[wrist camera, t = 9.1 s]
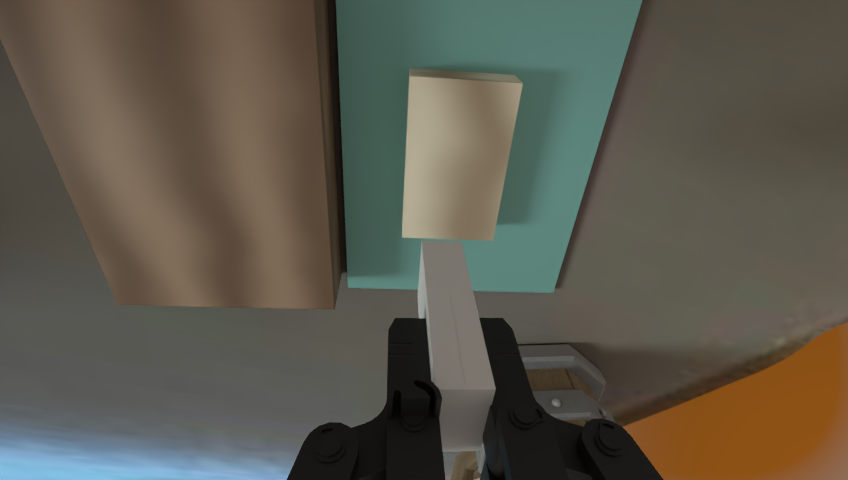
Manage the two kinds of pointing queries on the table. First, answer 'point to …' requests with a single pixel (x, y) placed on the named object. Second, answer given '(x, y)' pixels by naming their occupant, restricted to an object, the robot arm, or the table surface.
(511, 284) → the mat
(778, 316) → the table surface
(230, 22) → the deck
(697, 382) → the table surface
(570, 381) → the tankard
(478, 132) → the tile
